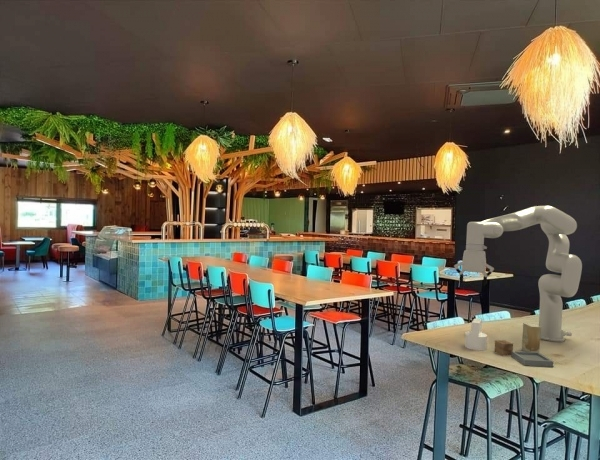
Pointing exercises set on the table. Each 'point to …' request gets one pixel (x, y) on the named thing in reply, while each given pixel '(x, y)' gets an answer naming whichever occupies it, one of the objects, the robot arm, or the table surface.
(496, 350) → the walnut block
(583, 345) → the table surface
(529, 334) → the skincare box
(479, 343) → the base with upright slab
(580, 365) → the table surface
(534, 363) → the slate tray
